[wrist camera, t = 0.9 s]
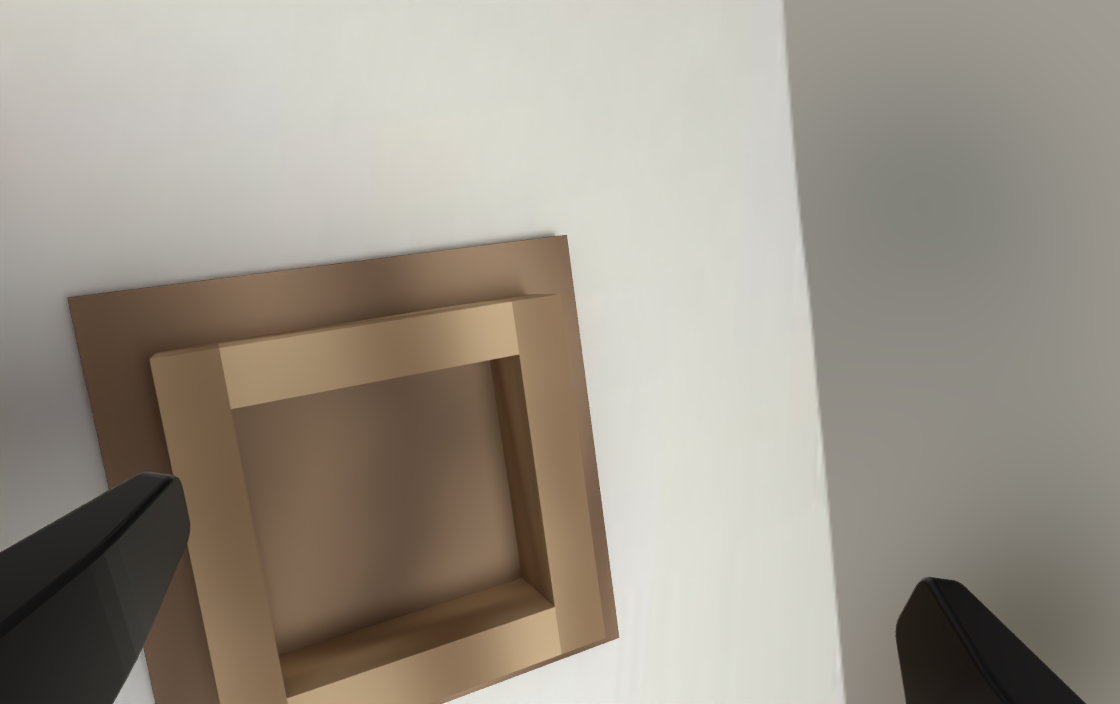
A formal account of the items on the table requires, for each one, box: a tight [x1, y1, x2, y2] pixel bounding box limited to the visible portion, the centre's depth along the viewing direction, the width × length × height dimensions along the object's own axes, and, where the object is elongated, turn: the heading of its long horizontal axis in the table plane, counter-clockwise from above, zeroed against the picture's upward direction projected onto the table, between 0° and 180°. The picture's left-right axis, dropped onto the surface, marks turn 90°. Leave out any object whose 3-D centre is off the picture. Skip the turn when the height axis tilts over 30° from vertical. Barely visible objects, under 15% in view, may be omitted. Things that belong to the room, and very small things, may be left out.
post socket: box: [68, 235, 619, 704], centre depth 22 cm, size 14×14×3 cm
